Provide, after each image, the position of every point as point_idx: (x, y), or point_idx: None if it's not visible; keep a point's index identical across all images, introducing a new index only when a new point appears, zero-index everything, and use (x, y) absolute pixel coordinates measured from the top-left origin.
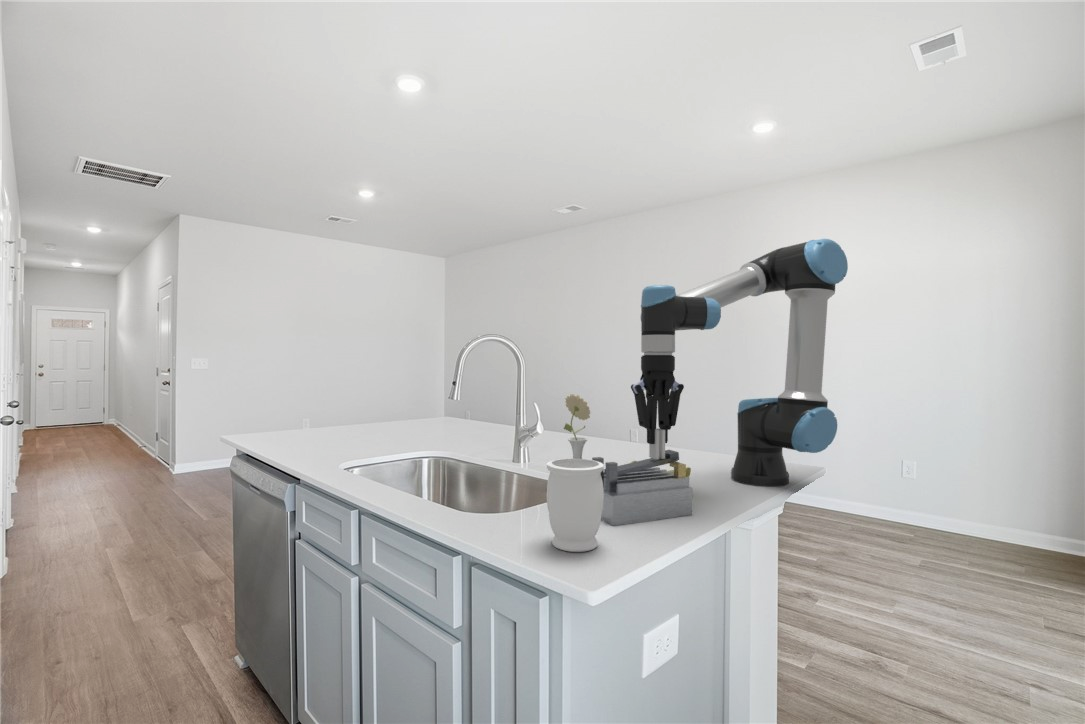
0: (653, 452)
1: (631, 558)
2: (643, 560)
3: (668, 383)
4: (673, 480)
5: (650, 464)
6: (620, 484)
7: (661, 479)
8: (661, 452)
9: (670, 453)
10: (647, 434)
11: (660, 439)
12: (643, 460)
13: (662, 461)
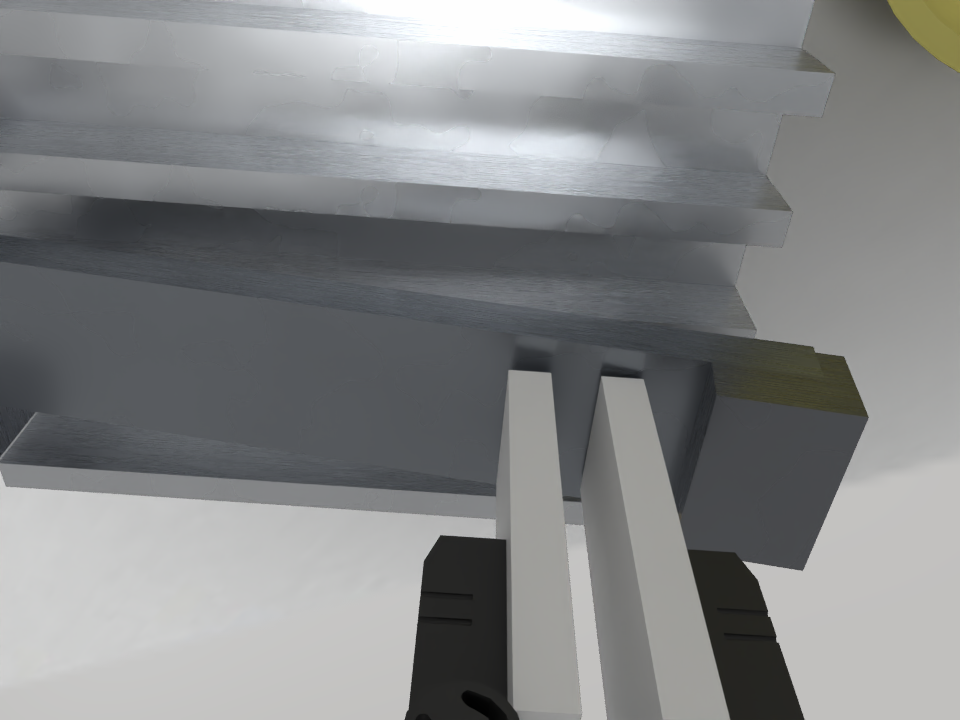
0: (499, 493)
1: (21, 638)
2: (59, 660)
3: None
4: None
5: (408, 461)
6: (24, 487)
7: (434, 496)
8: (589, 528)
9: (703, 538)
10: (413, 667)
11: (609, 655)
12: (423, 341)
13: (563, 487)
